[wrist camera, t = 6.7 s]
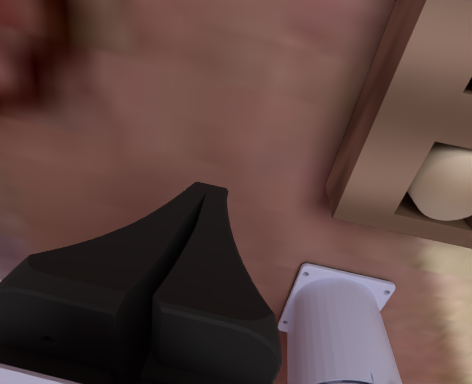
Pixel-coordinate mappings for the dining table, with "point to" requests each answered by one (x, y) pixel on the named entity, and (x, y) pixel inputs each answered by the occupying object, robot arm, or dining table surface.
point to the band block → (407, 120)
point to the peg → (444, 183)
